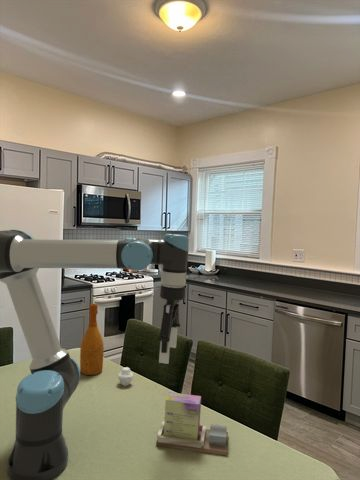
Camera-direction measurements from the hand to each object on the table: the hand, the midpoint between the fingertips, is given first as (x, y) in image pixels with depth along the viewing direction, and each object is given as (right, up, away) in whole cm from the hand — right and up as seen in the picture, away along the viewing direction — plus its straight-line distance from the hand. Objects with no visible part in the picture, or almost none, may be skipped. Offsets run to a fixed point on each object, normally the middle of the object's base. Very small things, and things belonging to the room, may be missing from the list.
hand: (168, 354), depth 109 cm
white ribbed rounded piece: (-19, -24, +37) cm, 48 cm away
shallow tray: (+8, -27, +1) cm, 28 cm away
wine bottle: (-35, -23, +48) cm, 64 cm away
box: (+4, -26, +2) cm, 26 cm away
